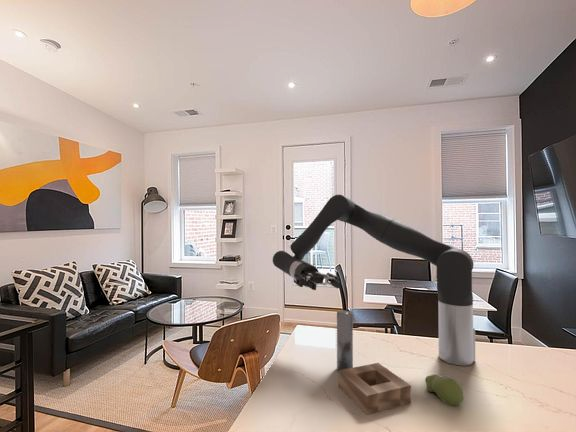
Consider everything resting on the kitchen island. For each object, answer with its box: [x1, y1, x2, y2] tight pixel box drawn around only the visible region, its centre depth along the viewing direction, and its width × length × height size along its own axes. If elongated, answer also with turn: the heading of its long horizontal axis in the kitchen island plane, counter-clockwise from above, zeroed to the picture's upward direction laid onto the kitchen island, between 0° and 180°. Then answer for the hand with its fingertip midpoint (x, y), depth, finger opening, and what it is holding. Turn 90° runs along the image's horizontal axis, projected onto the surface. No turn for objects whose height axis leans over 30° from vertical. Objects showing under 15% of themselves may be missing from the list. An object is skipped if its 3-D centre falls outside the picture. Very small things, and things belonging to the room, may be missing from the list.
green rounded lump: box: [425, 374, 465, 406], centre depth 73 cm, size 6×5×10 cm
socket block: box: [338, 362, 412, 415], centre depth 74 cm, size 12×12×4 cm
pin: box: [336, 310, 354, 372], centre depth 87 cm, size 4×4×16 cm
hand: (327, 286), depth 95 cm, fingers open, 8 cm apart
